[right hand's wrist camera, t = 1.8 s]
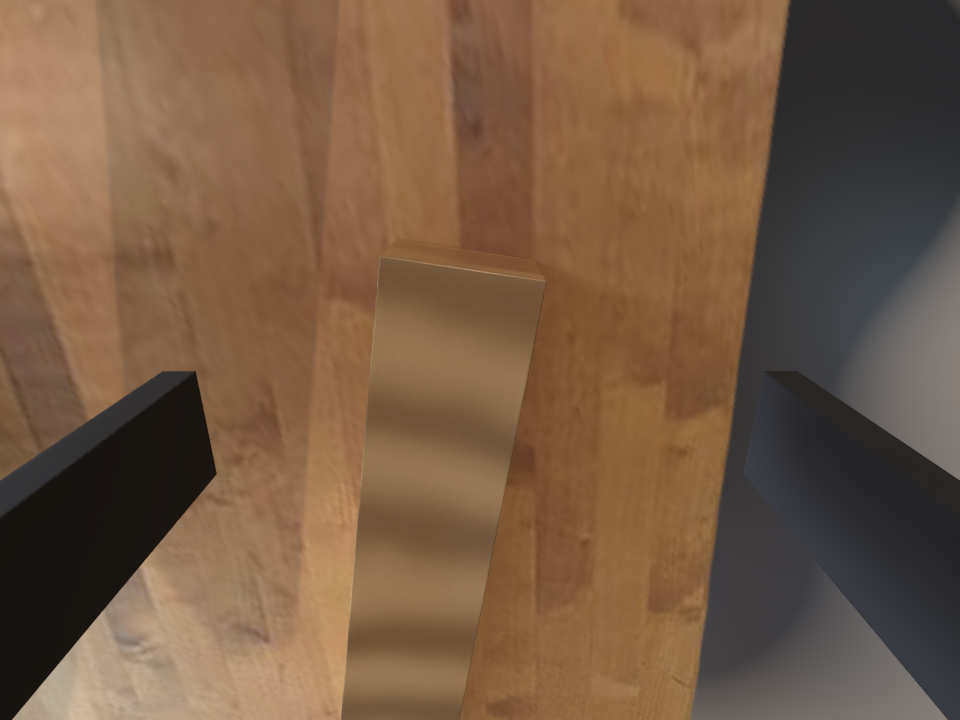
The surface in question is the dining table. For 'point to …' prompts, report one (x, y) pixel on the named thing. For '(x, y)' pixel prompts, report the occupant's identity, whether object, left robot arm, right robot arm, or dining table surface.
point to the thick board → (434, 471)
